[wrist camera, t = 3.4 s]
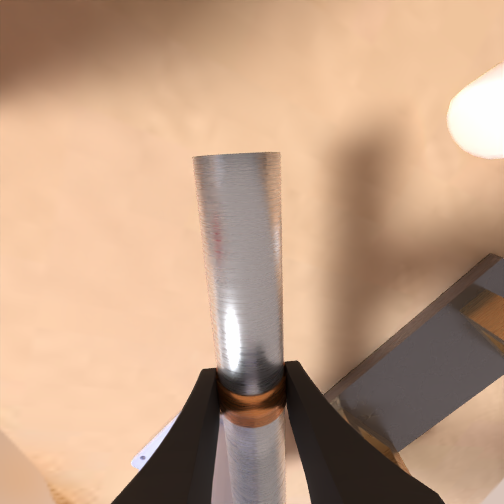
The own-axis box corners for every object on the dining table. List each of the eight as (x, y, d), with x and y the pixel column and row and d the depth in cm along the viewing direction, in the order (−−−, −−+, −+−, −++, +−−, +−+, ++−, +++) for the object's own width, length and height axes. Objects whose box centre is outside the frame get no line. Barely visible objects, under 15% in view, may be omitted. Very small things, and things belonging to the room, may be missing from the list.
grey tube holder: (359, 466, 27) (386, 529, 23) (291, 422, 25) (305, 483, 20) (548, 324, 23) (630, 366, 18) (490, 253, 20) (567, 280, 16)
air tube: (283, 482, 17) (292, 551, 14) (233, 487, 17) (232, 557, 14) (276, 154, 11) (291, 150, 8) (197, 158, 11) (180, 156, 8)
